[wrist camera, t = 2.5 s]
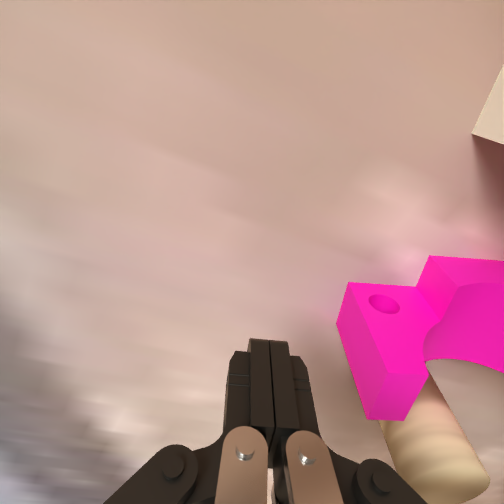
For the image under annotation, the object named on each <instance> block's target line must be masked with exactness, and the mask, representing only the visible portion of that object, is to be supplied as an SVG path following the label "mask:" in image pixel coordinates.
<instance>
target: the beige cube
mask: <svg viewBox="0 0 504 504" xmlns="http://www.w3.org/2000/svg"><path fill="white" fill-rule="evenodd" d="M472 134H474V135H477V136H480V137H483V138H486V139H489V140H492V141H495V142H498V143H501V144H504V64H503V66H502V68H501V70H500V73H499V75H498V77H497V79H496V81H495V84H494V86H493V88H492V90H491V92H490V94H489V97H488V99H487V101H486V103H485V105H484V107H483V110H482V112H481V114H480V116H479V118H478V120H477V123H476V125H475V127H474V129H473V131H472Z"/></svg>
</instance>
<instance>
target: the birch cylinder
mask: <svg viewBox="0 0 504 504" xmlns="http://www.w3.org/2000/svg"><path fill="white" fill-rule="evenodd" d="M426 368H427V367H426ZM427 371H428V369H427ZM428 373H429V376H428V378H427V380H426V382H425V384H424V385H423V387H422V389H421V391H420V393H419V394H418V396H417V398H416V400H415V402H414V403H413V405H412V407H411V409H410V411H409V412H408V414H407V416H406V418H405V420H404V421H390V420H379V423H380V426H381V429H382V431H383V434H384V437H385V440H386V443H387V446H388V448H389V451H390V454H391V457H392V460H393V462H394V465H395V468H396V471H397V473H398V474H399V475H400V476H401V477H402V478H403V479H404V480H405V481H406V482H407V483H408V484H409V485H410V486H411V487H412V488H413V489H414V490H415V491H416V492H417V493H418V494H419V495H420V496H421V497H422V498H423V499H424V500H425V501H426V502H427V503H428V504H459V503H462V502H466V501H468V500H471V499H473V498H475V497H477V496H478V495H480V494H481V493H483V492H484V491H485V490H486V489H487V488H488V486H489V484H490V477H489V476H488V474H487V472H486V470H485V469H484V467H483V465H482V463H481V462H480V460H479V458H478V456H477V455H476V453H475V451H474V449H473V448H472V446H471V444H470V442H469V441H468V439H467V437H466V435H465V434H464V432H463V430H462V428H461V427H460V425H459V423H458V421H457V420H456V418H455V416H454V414H453V413H452V411H451V409H450V407H449V406H448V404H447V402H446V400H445V399H444V397H443V395H442V393H441V392H440V390H439V388H438V386H437V385H436V383H435V381H434V379H433V378H432V376H431V374H430V372H429V371H428Z"/></svg>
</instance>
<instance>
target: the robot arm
mask: <svg viewBox="0 0 504 504" xmlns="http://www.w3.org/2000/svg"><path fill="white" fill-rule="evenodd" d="M268 468H271V469H273V478H274V483H273V486H272V490H271V498H272V504H428V503H427V502H426V501H425V500H424V499H423V498H422V497H421V496H420V495H419V494H418V493H417V492H416V491H415V490H414V489H413V488H412V487H411V486H410V485H409V484H408V483H407V482H406V481H405V480H404V479H403V478H402V477H401V476H400V475H399V474H398V473H397V472H396V471H394V470H393V469H392V468H391V467H390V466H389V465H388V464H386V463H384V462H382V461H380V460H377V459H367V460H364V461H363V462H362V463H361V464H358V463H356V462H354V461H351V460H349V459H346V458H344V457H342V456H340V455H338V454H336V453H335V452H333V451H332V450H331V449H330V448H329V447H328V446H327V445H326V444H325V442H324V441H323V439H322V438H321V435H320V433H319V429H318V424H317V418H316V413H315V408H314V403H313V397H312V392H311V387H310V382H309V376H308V371H307V367H306V366H305V364H304V362H303V361H302V359H301V358H300V356H290V354H289V347H288V342H286V341H275V340H269V341H268V340H263V339H253V338H250V339H249V344H248V349H247V352H243V351H235V353H234V355H233V356H232V358H231V360H230V363H229V370H228V376H227V383H226V394H225V408H224V422H223V433H222V435H221V436H220V438H219V439H218V440H217V441H216V442H215V443H213V444H212V445H210V446H207V447H205V448H201V449H198V450H194V451H191V450H190V449H189V448H187V447H185V446H183V445H177V444H176V445H169V446H167V447H164V448H163V449H161V450H160V451H158V452H157V453H156V454H155V455H154V456H153V457H152V458H151V459H150V460H149V461H148V462H147V463H146V464H144V465H143V466H142V467H141V468H140V469H139V470H138V471H137V472H136V473H135V474H134V475H133V476H132V477H131V478H130V479H129V480H128V481H126V482H125V483H124V484H123V485H122V486H121V487H120V488H119V489H118V490H117V491H116V492H115V493H114V494H113V495H112V496H111V497H110V498H109V499H107V500H106V501H105V502H104V503H103V504H267V474H268Z"/></svg>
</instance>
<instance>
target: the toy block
mask: <svg viewBox="0 0 504 504" xmlns="http://www.w3.org/2000/svg"><path fill="white" fill-rule="evenodd" d="M336 325H337V328H338V331H339V334H340V337H341V340H342V344H343V347H344V350H345V353H346V356H347V359H348V362H349V365H350V368H351V371H352V374H353V378H354V381H355V384H356V387H357V390H358V393H359V396H360V399H361V402H362V405H363V409H364V412H365V415H366V418H367V419H370V420H390V421H404V420H405V418H406V416H407V414H408V412H409V411H410V409H411V407H412V405H413V403H414V402H415V400H416V398H417V396H418V394H419V393H420V391H421V389H422V387H423V385H424V384H425V382H426V380H427V378H428V376H429V373H428V371H427V368H426V365H425V361H429V360H433V359H445V358H447V359H459V360H465V361H470V362H474V363H477V364H481V365H484V366H487V367H490V368H492V369H495V370H497V371H500V372H502V373H504V261H498V260H485V259H471V258H458V257H444V256H431V255H429V257H428V260H427V262H426V264H425V267H424V269H423V271H422V274H421V276H420V278H419V281H418V283H417V285H416V287H412V286H397V285H383V284H369V283H354V282H348V285H347V288H346V292H345V295H344V299H343V302H342V305H341V309H340V312H339V316H338V319H337V322H336Z"/></svg>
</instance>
